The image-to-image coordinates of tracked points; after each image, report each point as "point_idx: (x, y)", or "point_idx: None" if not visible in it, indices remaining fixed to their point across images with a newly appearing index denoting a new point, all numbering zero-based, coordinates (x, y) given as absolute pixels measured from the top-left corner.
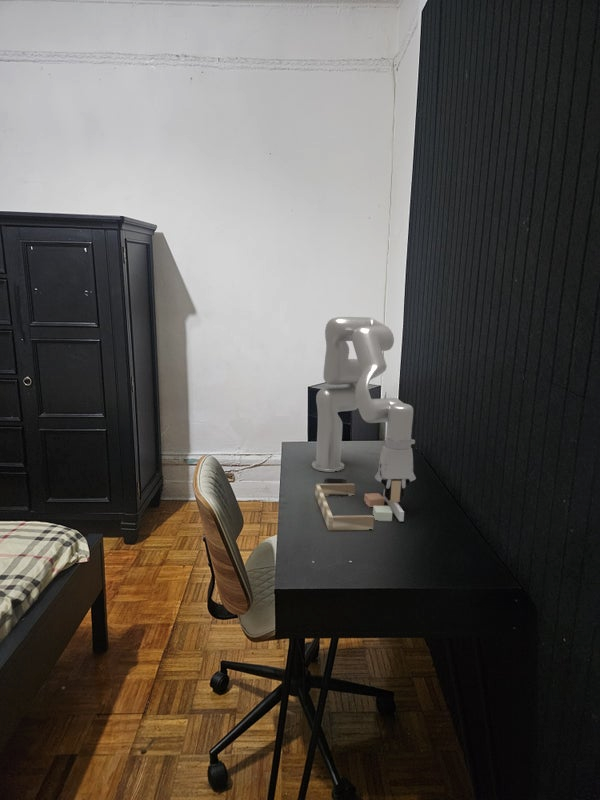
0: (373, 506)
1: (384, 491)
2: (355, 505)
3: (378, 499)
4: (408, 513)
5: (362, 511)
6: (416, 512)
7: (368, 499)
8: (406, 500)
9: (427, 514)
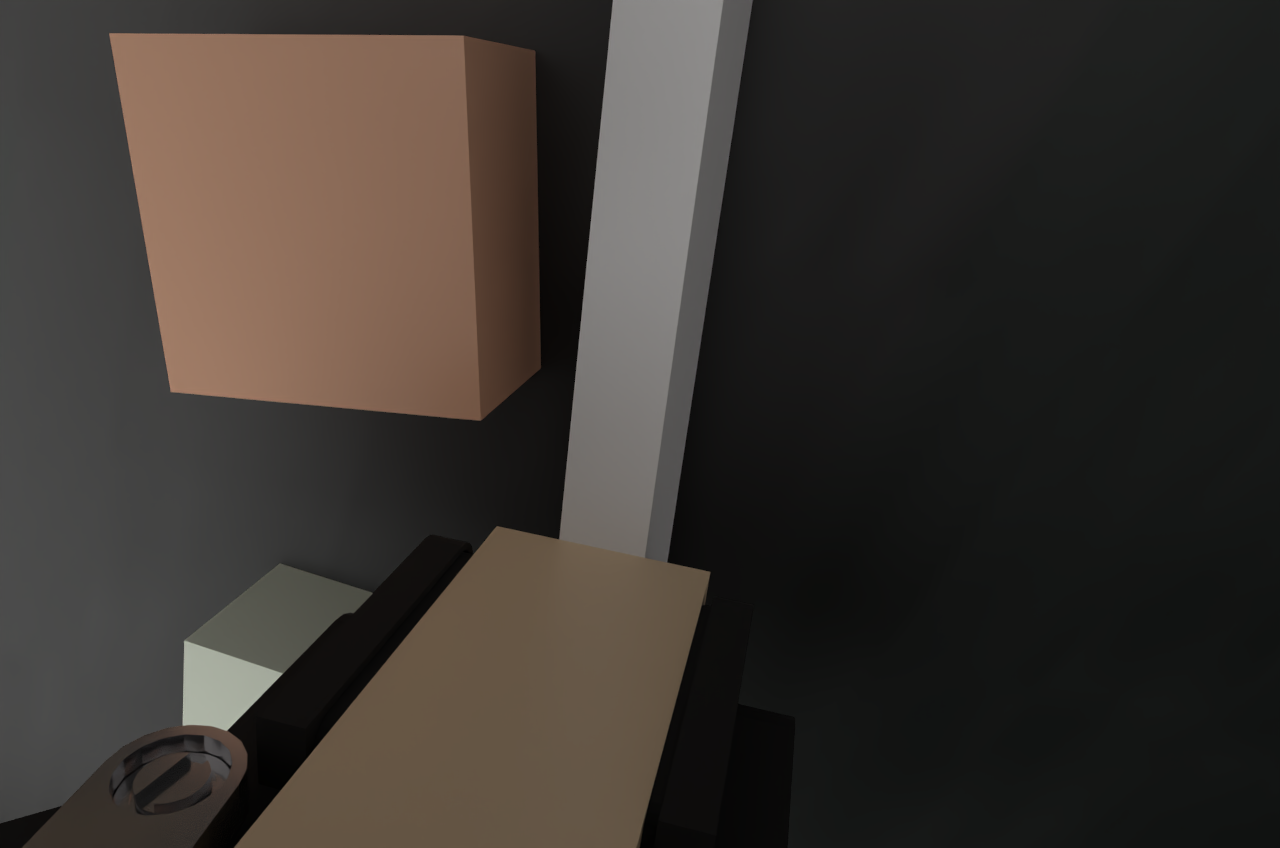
0: (187, 657)
1: (620, 14)
2: (69, 201)
3: (348, 407)
4: (857, 707)
5: (148, 450)
6: (1029, 716)
7: (177, 305)
8: (1216, 145)
9: (1183, 832)
